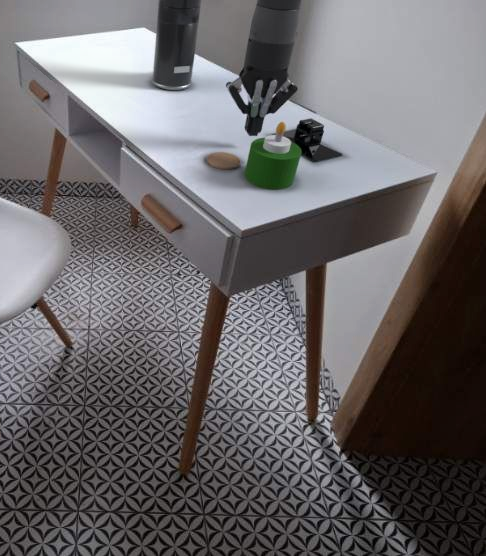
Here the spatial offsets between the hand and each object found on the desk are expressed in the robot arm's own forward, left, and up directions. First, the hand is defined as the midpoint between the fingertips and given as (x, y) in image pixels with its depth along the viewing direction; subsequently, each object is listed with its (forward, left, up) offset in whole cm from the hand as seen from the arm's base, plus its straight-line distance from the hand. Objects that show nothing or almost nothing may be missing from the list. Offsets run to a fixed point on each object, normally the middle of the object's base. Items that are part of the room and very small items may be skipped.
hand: (251, 134), depth 96 cm
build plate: (0, +11, -3) cm, 12 cm away
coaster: (+6, -7, -3) cm, 9 cm away
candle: (+12, 0, -3) cm, 12 cm away
